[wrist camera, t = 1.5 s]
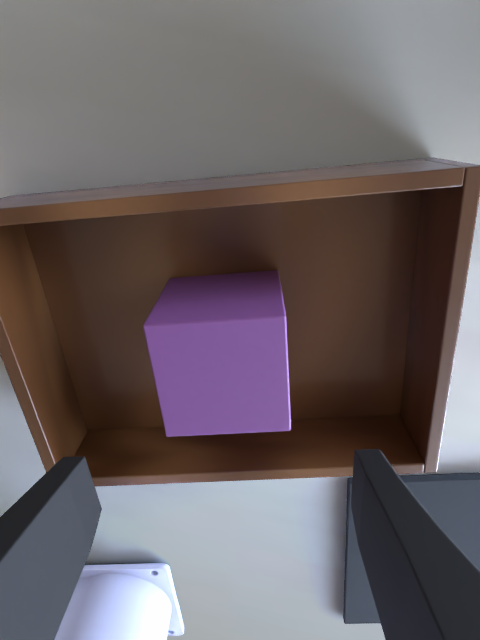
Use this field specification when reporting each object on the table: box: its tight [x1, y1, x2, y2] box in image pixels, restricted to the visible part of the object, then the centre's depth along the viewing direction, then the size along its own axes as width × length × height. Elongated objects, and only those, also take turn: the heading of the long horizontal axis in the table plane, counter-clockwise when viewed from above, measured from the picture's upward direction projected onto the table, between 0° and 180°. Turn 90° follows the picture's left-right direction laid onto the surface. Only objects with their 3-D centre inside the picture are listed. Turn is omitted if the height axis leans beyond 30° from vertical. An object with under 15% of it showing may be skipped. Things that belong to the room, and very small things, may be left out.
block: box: [143, 270, 291, 437], centre depth 17 cm, size 5×5×5 cm
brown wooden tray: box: [0, 158, 480, 486], centre depth 18 cm, size 18×13×4 cm
